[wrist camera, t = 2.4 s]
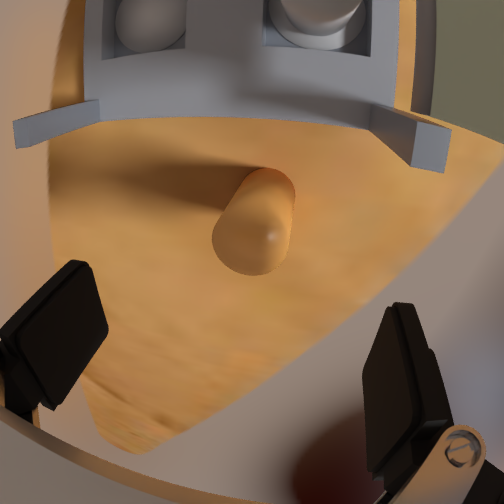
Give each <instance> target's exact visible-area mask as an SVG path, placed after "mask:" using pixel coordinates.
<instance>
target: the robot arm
mask: <svg viewBox="0 0 504 504" xmlns="http://www.w3.org/2000/svg"><path fill="white" fill-rule="evenodd" d="M108 331H109V328H108V324H107V321H106V317H105V314H104V311H103V307H102V304H101V300H100V297H99V293H98V290H97V286H96V282H95V278H94V275H93V271H92V268H91V267H89V264H88V263H87V262H85V261H79V260H70V261H69V262H68V263H67V264H65V265H64V266H63V267H62V268H61V269H60V270H59V271H58V272H57V273H56V274H55V275H53V276H52V277H51V278H50V279H49V280H48V281H47V282H46V283H45V284H44V285H43V286H42V287H41V288H40V289H39V290H38V291H37V292H36V293H35V294H34V295H33V296H32V297H31V298H30V299H29V300H28V301H27V302H26V303H25V304H24V305H23V306H22V307H21V308H20V309H19V310H18V311H17V312H16V313H15V314H14V315H13V316H12V317H11V318H10V319H9V320H8V321H7V322H6V323H5V324H4V325H3V326H2V328H1V329H0V338H1V341H0V504H271V503H263V502H256V501H249V500H243V499H237V498H231V497H226V496H221V495H216V494H212V493H207V492H203V491H199V490H194V489H191V488H187V487H183V486H179V485H175V484H172V483H169V482H165V481H162V480H158V479H155V478H152V477H149V476H146V475H143V474H140V473H137V472H135V471H132V470H129V469H126V468H124V467H121V466H118V465H116V464H113V463H111V462H108V461H106V460H103V459H101V458H99V457H96V456H94V455H91V454H89V453H87V452H85V451H83V450H80V449H78V448H76V447H74V446H72V445H70V444H68V443H66V442H64V441H62V440H60V439H58V438H56V437H54V436H52V435H50V434H48V433H47V432H45V431H43V430H41V429H40V422H39V413H38V406H37V405H38V404H39V402H41V404H42V405H43V406H45V407H47V408H48V409H50V410H53V411H54V410H55V409H56V407H57V406H58V405H60V404H61V403H62V402H63V401H64V399H65V398H66V396H67V395H68V393H69V392H70V390H71V388H72V387H73V386H74V384H75V382H76V381H77V379H78V378H79V376H80V375H81V373H82V372H83V370H84V369H85V367H86V366H87V364H88V363H89V361H90V360H91V359H92V357H93V356H94V354H95V353H96V351H97V350H98V348H99V347H100V345H101V344H102V343H103V341H104V340H105V338H106V337H107V335H108ZM362 382H363V394H364V410H365V427H366V453H367V470H368V472H372V480H384V489H385V490H386V491H385V492H384V493H383V494H382V496H381V497H380V498H379V499H378V500H377V501H376V502H375V503H374V504H504V473H503V472H502V471H501V470H499V469H497V468H496V467H495V466H494V465H492V464H491V463H489V462H488V461H487V460H485V456H486V445H485V442H484V439H483V438H482V436H481V435H480V433H479V432H477V431H476V430H475V429H474V428H472V427H469V426H467V425H455V426H454V422H453V418H452V414H451V410H450V406H449V402H448V398H447V394H446V391H445V387H444V383H443V380H442V376H441V373H440V370H439V366H438V363H437V360H436V357H435V354H434V352H433V350H432V349H429V348H428V344H427V341H426V338H425V336H424V332H423V329H422V326H421V323H420V321H419V318H418V315H417V312H416V309H415V307H414V305H413V304H411V303H400V302H395V303H393V305H392V307H389V306H388V307H387V308H386V310H385V313H384V316H383V318H382V322H381V324H380V327H379V329H378V332H377V335H376V338H375V340H374V343H373V345H372V348H371V351H370V353H369V355H368V358H367V360H366V363H365V365H364V368H363V373H362Z"/></svg>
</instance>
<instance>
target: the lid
mask: <svg viewBox="0 0 504 504" xmlns="http://www.w3.org/2000/svg"><path fill="white" fill-rule="evenodd" d="M411 111H412V112H416V113H420V114H423V115H427V116H430V117H433V118H436V119H440V120H443V121H445V122H448V123H451V124H454V125H457V126H460V127H462V128H465V129H468V130H470V131H473V132H476V133H478V134H481V135H483V136H486V137H488V138H490V139H493V140H495V141H498V142H500V143H502V144H504V0H416V51H415V68H414V81H413V92H412V102H411Z"/></svg>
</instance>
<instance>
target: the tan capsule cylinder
mask: <svg viewBox="0 0 504 504" xmlns="http://www.w3.org/2000/svg"><path fill="white" fill-rule="evenodd" d="M294 202H295V190H294V186H293V184H292V182H291V181H290V179H289V178H288V177H287V176H286V175H285V174H283V173H282V172H280V171H278V170H275V169H271V168H262V169H257V170H255V171H253V172H251V173H250V174H248V175H247V176H246V178H245V179H244V180H243V182H242V183H241V185H240V187H239V188H238V190H237V191H236V193H235V194H234V196H233V197H232V199H231V201H230V202H229V204H228V205H227V207H226V209H225V210H224V212H223V213H222V215H221V216H220V218H219V220H218V221H217V223H216V225H215V227H214V230H213V234H212V243H213V247H214V250H215V252H216V254H217V256H218V258H219V259H220V260H221V261H222V262H223V263H224V264H225V265H226V266H227V267H229V268H230V269H232V270H233V271H235V272H238V273H241V274H244V275H252V276H255V275H263V274H267V273H269V272H271V271H273V270H275V269H276V268H277V267H279V266H280V265H281V264H282V262H283V261H284V259H285V257H286V255H287V252H288V246H289V239H290V232H291V224H292V217H293V210H294Z"/></svg>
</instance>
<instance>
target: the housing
mask: <svg viewBox="0 0 504 504" xmlns="http://www.w3.org/2000/svg"><path fill="white" fill-rule="evenodd" d="M398 40H399V0H86V5H85V21H84V97H85V102H81V103H77V104H73V105H68V106H64V107H60V108H56V109H52V110H49V111H45V112H41V113H38V114H35V115H31V116H28V117H24V118H21V119H18V120H15V121H13V129H14V137H15V145H16V149H18V148H24V147H31V146H33V145H36V144H38V143H40V142H43V141H46V140H48V139H51V138H54V137H56V136H59V135H62V134H65V133H67V132H70V131H73V130H76V129H79V128H82V127H85V126H88V125H91V124H94V123H98V122H102V121H112V120H125V119H139V118H159V117H242V118H262V119H278V120H290V121H301V122H311V123H320V124H329V125H337V126H344V127H351V128H358V129H365V130H369V131H370V132H372V133H373V134H374V135H375V136H376V137H378V138H379V139H380V140H381V141H382V142H383V143H385V144H386V145H387V146H388V147H389V148H390V149H391V150H393V151H394V152H395V153H396V154H397V155H398V156H399V157H400V158H402V159H403V160H404V161H405V162H406V163H407V164H408V165H409V166H410V167H415V168H420V169H425V170H430V171H434V172H439V173H444V170H445V165H446V160H447V155H448V149H449V143H450V137H451V131H452V130H451V129H449V128H446V127H444V126H441V125H439V124H436V123H434V122H431V121H429V120H426V119H424V118H421V117H418V116H415V115H413V114H410V113H407V112H404V111H401V110H398V109H395V108H394V98H395V87H396V75H397V60H398Z"/></svg>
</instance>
